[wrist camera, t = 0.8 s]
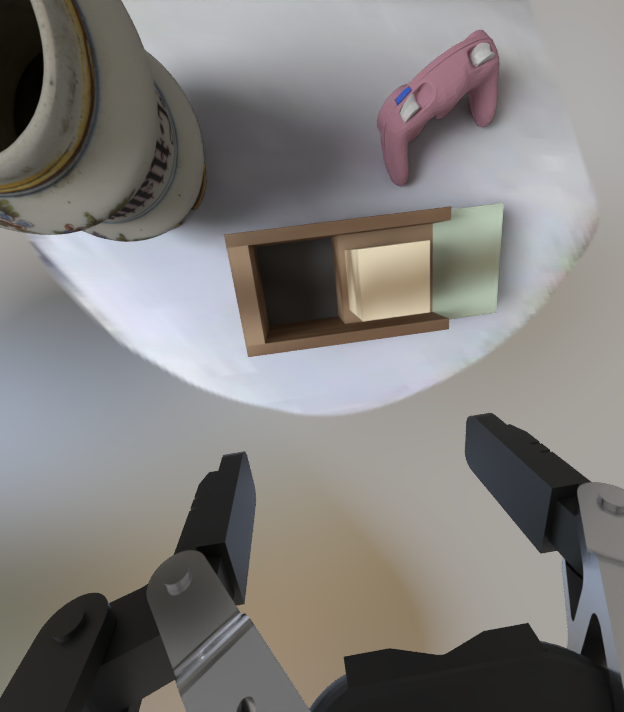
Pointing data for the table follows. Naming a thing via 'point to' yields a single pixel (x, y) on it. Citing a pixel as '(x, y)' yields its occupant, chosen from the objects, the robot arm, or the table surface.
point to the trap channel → (329, 277)
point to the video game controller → (439, 97)
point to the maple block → (389, 280)
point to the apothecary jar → (91, 125)
